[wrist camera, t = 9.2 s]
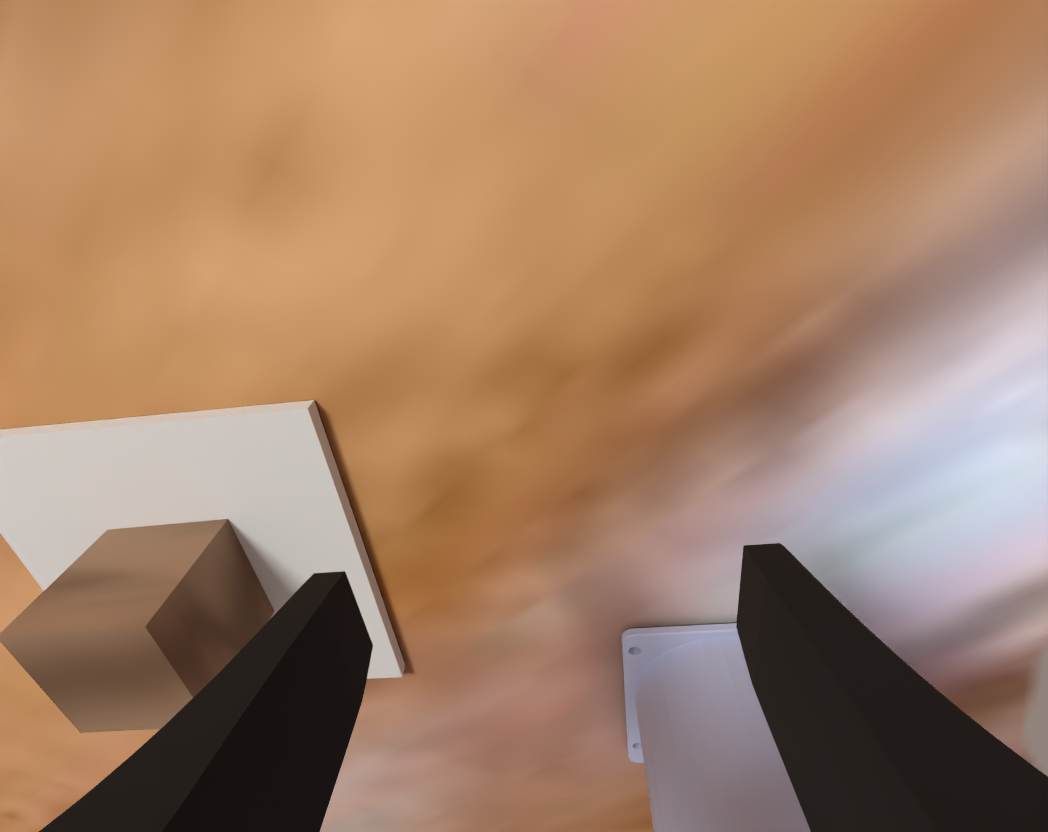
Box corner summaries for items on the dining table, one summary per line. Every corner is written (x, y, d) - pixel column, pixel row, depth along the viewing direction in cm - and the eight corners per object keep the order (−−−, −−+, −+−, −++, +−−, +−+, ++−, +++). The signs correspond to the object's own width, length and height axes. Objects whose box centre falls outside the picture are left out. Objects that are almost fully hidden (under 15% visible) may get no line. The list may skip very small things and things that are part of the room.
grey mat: (405, 665, 26) (402, 677, 25) (126, 678, 27) (118, 690, 27) (314, 400, 19) (307, 408, 19) (-52, 434, 20) (-68, 443, 20)
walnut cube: (274, 610, 24) (212, 726, 19) (165, 618, 24) (80, 732, 20) (228, 518, 21) (144, 626, 17) (107, 529, 22) (-4, 637, 17)
